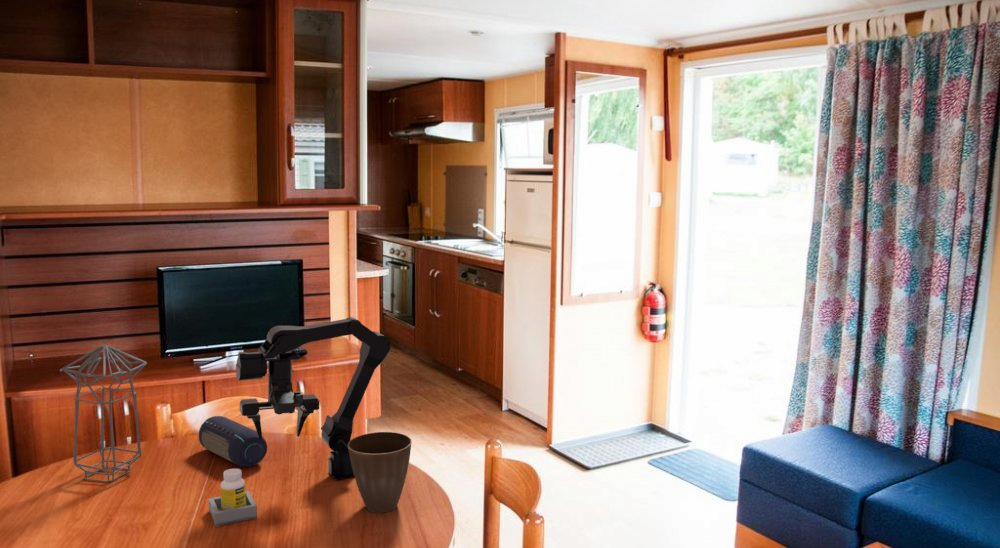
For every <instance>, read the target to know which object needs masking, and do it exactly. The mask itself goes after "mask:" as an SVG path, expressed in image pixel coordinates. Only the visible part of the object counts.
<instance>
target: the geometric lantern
mask: <svg viewBox="0 0 1000 548" xmlns="http://www.w3.org/2000/svg"><path fill="white" fill-rule="evenodd" d="M101 352H102V357H101V356H100V355H101ZM87 357H88V358H87ZM125 357H127V358H130V359H132V360H134V361H131V362H130V361H129V360H128V359H127V358H125ZM86 358H87V359H86ZM84 359H86V360H85V361H83V363H81V365H75V364H77V363H78V362H81V361H82V360H84ZM101 360H102V374H101V373H100V374H93V373H94V372H95V370H96V369H97V367H98V365H99V363H100V362H101ZM106 360H107V363H108V368H109V375H106V372H107V371H106V370H107V369H106V368H107V367H106ZM116 362H117V363H120V364H121V368H120V367H119V366H118V364H117V363H116ZM126 364H127V365H129V367H128V366H127V365H126ZM134 364H135V365H136V364H140V365H138V366H135V367H133V365H134ZM147 364H148V363H147V361H146V360H143V359H140V358H139V357H136V356H134V355H131V354H130V353H127V352H124V351H122V350H121V349H117V348H115V347H113V346H111V345H108V344H101V345H100V346H98V347H97V348H94V349H93V350H91V351H89V352H88V353H86V354H84V355H83V356H81V357H79V358H77V359H76V360H74V361H72V362H71V363H69V364H67V365H65V366H64V367H62V368H60V369H59V373H62V372H64V373H65V374H67V376H69V377H70V378H71V379H72V380H74V382H76V385H77V386H76V387H77V388H76V393H75V394H76V395H75V398H74V399H73V400H74V440H73V441H74V443H73V458H72V459H73V460H72V461H73V465H74V466H75V467H77V468H78V469H79V470H82V471H83V472H84V478H83V479H84V480H85V481H89V482H90V481H92V482H99V483H100V482H102V483H111V482H114V481H115V480H117V479H119V478H121V477H123V476H124V475H127V474H128V473H130V472H131V465H133V464H134V463H135V462H136V461H138V460H139V459H140V458H142V456H143V455H142V447H141V446H142V445H141V437H140V430H139V427H140V426H139V415H138V401H137V392H136V389H135V385H134V382H133V379H134V378H135V377H136V376H137V374H138V373H139V372H141V371H142V369H144V368H145V366H147ZM73 365H75V366H73ZM111 365H113V366H114V368H115V369H116V371H117V372H112V367H111ZM86 367H87V371H86V372H85V373H83V372H82V371H84V369H85V368H86ZM132 367H133V368H132ZM124 368H125V369H126V370H127V371H125V370H124ZM75 369H78V370H75ZM72 374H74V375H75V376H74V375H72ZM132 374H133V375H132ZM123 375H128V376H129V377H128V379H126V380H124V381H123ZM87 377H88V378H91V377H93V378H94V380H92V381H91V382H89V383H88V382H87ZM106 377H107V378H110V377H111V378H114V379H113V380H112V382H111V383H110V385H109V386H108V387H105V386H104V385H103V384H102V382H100V381H99V380H101V379H103V378H106ZM119 377H120V378H119ZM81 378H83V379H84V383H82V382H81V380H82V379H81ZM116 381H117V382H118V383H119V384H118V386H117V387H116V388H113V385H114V383H116ZM96 382H98V384H99V385H100V386H101V387H102V388H101V387H100V388H98V389H93V388H92V386H91V385H92V384H95V383H96ZM126 383H129V386H130V389H129V390H128V389H121V388H120V387H121V385H124V384H126ZM82 386H86V387H88V389H89V391H88V392H86V393H82V394H80V393H81V390H82ZM107 390H109V392H108V393H109V394H108V395H109V399H108V401H105V391H107ZM98 391H101V399H100V397H99V396H98V395H97V393H96V392H98ZM112 391H114V392H113V393H112ZM117 391H121V392H126V393H127V392H128V393H131V394H129V395H124V396H123V397H121V398H118V399H115V400H113V397H114V395H115V394H116V393H117ZM89 394H93V396H94V397H95V398H96V400H97V401H93V400H86V399H80V398H81V397H83V396H86V395H89ZM129 397H132V401H133V410H134V418H135V429H136V441H137V442H136V444H137V450H134V449H133V450H132V449H125V448H119V447H115V437H114V436H115V435H114V426H113V425H114V424H113V403H115V402H118V401H121V400H123V399H126V398H129ZM80 402H85V403H90V404H91V403H92V404H98V405H100V420H101V421H100V441H99V443H100V448H99V449H96V450H94V451H91V452H90V453H87V454H84V455H83V456H80V457H78V458H77V456H78V455H77V452H78V429H79V428H78V427H79V412H80V411H79V410H80ZM104 405H108V412H109V413H108V415H109V425H110V443H111V444H110V447H105V430H104V428H105V427H104V426H105V425H104V424H105V423H104V421H105V419H104V418H105V417H104V413H105V411H104V408H105V406H104ZM105 450H106V451H107V450H109V452H108V454H107V457H106V459H105ZM116 450H117V451H121V452H128V453H134V454H135V455H134V456H133V457H132V458H130V459H129V460H126V461H119V460H116ZM99 452H100V453H99ZM97 453H99V454H100V456H101V460H100V461H99V462H97V463H95V464H94V465H88V464H83V463H78V462H79V461H80V460H83V459H84V458H87V457H90V456H91V455H94V454H97ZM111 453H112V460H109V459H110V456H111ZM109 463H113V466H109ZM118 463H119V464H118ZM100 464H101V467H96V466H98V465H100ZM105 465H106V466H105ZM124 465H125V466H124ZM121 466H123V467H121ZM85 468H86V469H85ZM91 469H92V470H95V471H91ZM109 470H112V471H111V473H109V472H107V471H109ZM123 470H124V471H126V472H124V473H122V474H120V475H118V476H117V477H115V474H116V473H118V472H120V471H123ZM100 471H101V472H100ZM102 472H103V473H102ZM88 473H89V475H88ZM94 474H97V475H102V476H107V480H106V479H105V480H104V479H94V478H89V477H91V476H93V475H94ZM110 476H111V477H112V479H110Z"/></svg>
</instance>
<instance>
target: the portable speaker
mask: <svg viewBox="0 0 1000 548" xmlns="http://www.w3.org/2000/svg"><path fill="white" fill-rule="evenodd" d="M198 441H199V444H200V445H201V446H202V447H203V448H204V449H206V450H207V451H209V452H211V453H213V454H215V455H217V456H219V457H221V458H224V459H225V460H227V461H229V462H232V463H233V464H235V465H237V466H238V467H244V468H245V467H249V468H250V467H253V466H256V465H257V464H260V463H261V462H262V461H263V460H264V459H265V457H266V455H267V453H268V443H267V441H266V439H265V438H264V436H263V435H262V440H260V439H259V436H258V433H257V430H256V429H255V430H254V429H252V428H251V427H248V426H246V425H243V424H241V423H239V422H237V421H234V420H232V419H230V418H228V417H226V416H221V415H215V416H210V417H208V418H206V419H205V421H203V423H202V424H201V426H200V427H199V431H198Z"/></svg>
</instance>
